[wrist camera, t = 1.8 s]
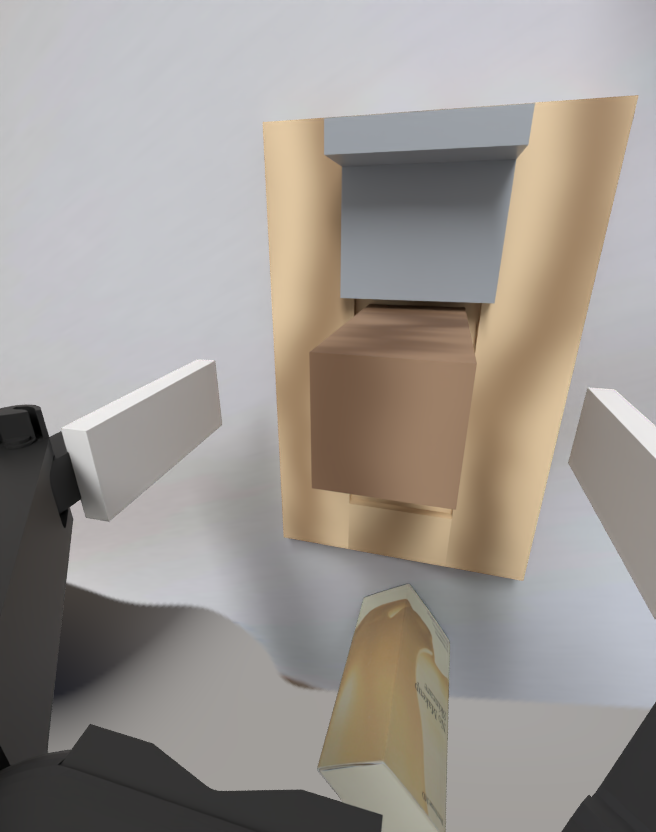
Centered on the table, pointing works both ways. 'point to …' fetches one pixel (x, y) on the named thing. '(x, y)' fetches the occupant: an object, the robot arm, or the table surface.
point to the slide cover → (426, 200)
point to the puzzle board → (489, 326)
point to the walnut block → (393, 404)
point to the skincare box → (392, 715)
